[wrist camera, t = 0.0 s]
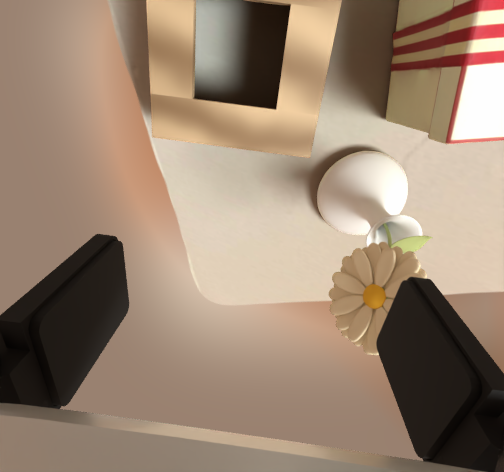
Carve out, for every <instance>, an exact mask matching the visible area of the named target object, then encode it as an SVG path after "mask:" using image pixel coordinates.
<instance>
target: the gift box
mask: <svg viewBox="0 0 504 472" xmlns="http://www.w3.org/2000/svg"><path fill="white" fill-rule="evenodd" d="M393 47H394V49H393V58H392V63H391V77H390V86H389V94H388V102H387V111H386V120H387V121H389V122H393V123H396V124H400V125H403V126H406V127H410V128H413V129H417V130H420V131H423V132H427V133H429V135H428V138H429V139H432V140H435V141H437V142H441V143H445V144H456V143H471V142H485V141H499V140H504V0H399V7H398V16H397V23H396V31H395V33H393Z"/></svg>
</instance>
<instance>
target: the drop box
mask: <svg viewBox="0 0 504 472" xmlns="http://www.w3.org/2000/svg"><path fill="white" fill-rule="evenodd" d="M245 1H253V2H261V3H269V4H277V5H285V6H291V7H290V14H289V21H288V28H287V36H286V43H285V50H284V57H283V64H282V71H281V79H280V86H279V93H278V100H277V107H276V109H271V108H264V107H256V106H248V105H240V104H233V103H225V102H217V101H209V100H202V99H194V85H195V31H196V0H146V7H147V29H148V52H149V74H150V97H151V119H152V137H154V138H162V139H169V140H177V141H185V142H192V143H200V144H207V145H215V146H223V147H230V148H238V149H245V150H253V151H261V152H268V153H276V154H284V155H291V156H299V157H306V158H310V155H311V150H312V145H313V140H314V135H315V130H316V125H317V120H318V115H319V110H320V106H321V101H322V96H323V91H324V86H325V81H326V76H327V71H328V66H329V61H330V56H331V52H332V47H333V42H334V37H335V32H336V27H337V22H338V17H339V12H340V7H341V2H342V0H245Z"/></svg>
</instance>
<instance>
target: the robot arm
mask: <svg viewBox="0 0 504 472" xmlns="http://www.w3.org/2000/svg"><path fill="white" fill-rule="evenodd" d="M128 308H129V298H128V289H127V279H126V270H125V262H124V251H123V244H122V242H121V241H118V239H117V237H115V236H109V235H102V234H97V235H95V236H94V237H92V238H91V239H90V240H89V241H88V242H87V243H85V244H84V245H83V246H82V247H81V248H79V249H78V250H77V251H76V252H75V253H74V254H73V255H71V256H70V257H69V258H68V259H66V260H65V261H64V262H63V263H62V264H61V265H59V266H58V267H57V268H56V269H55V270H53V271H52V272H51V273H50V274H49V275H48V276H46V277H45V278H44V279H43V280H42V281H40V282H39V283H38V284H37V285H36V286H35V287H33V288H32V289H31V290H30V291H29V292H28V293H26V294H25V295H24V296H23V297H21V298H20V299H19V300H18V301H17V302H16V303H14V304H13V305H12V306H11V307H10V308H8V309H7V310H6V311H5V312H4V313H3V314H1V315H0V472H504V373H503V372H502V371H501V369H500V368H499V367H498V366H497V364H496V363H495V362H494V360H493V359H492V358H491V357H490V355H489V354H488V353H487V352H486V350H485V349H484V348H483V346H482V345H481V344H480V343H479V341H478V340H477V339H476V337H475V336H474V335H473V333H472V332H471V331H470V330H469V328H468V327H467V326H466V324H465V323H464V322H463V320H462V319H461V318H460V317H459V315H458V314H457V313H456V311H455V310H454V309H453V308H452V306H451V305H450V304H449V302H448V301H447V300H446V299H445V297H444V296H443V295H442V293H441V292H440V291H439V290H438V288H437V287H436V286H435V284H434V283H433V282H432V281H431V280H430V279H425V278H418V277H409V278H408V279H407V280H404V281H402V283H401V284H400V287H399V289H398V291H397V294H396V296H395V298H394V300H393V303H392V305H391V307H390V310H389V312H388V314H387V317H386V319H385V321H384V324H383V326H382V328H381V330H380V333H379V335H378V337H377V342H376V346H377V350H378V353H379V356H380V358H381V361H382V363H383V366H384V369H385V372H386V375H387V377H388V380H389V383H390V385H391V388H392V390H393V393H394V396H395V398H396V401H397V404H398V407H399V409H400V412H401V415H402V417H403V420H404V422H405V425H406V428H407V431H408V433H409V436H410V439H411V441H412V444H413V447H414V449H415V452H416V454H417V455H418V456H419V457H420V458H422V459H423V461H418V460H412V459H405V458H398V457H392V456H385V455H379V454H372V453H365V452H359V451H352V450H345V449H338V448H332V447H325V446H318V445H312V444H305V443H298V442H291V441H285V440H277V439H270V438H264V437H257V436H250V435H243V434H237V433H230V432H223V431H216V430H208V429H202V428H195V427H188V426H181V425H174V424H166V423H159V422H152V421H145V420H138V419H130V418H122V417H116V416H109V415H102V414H94V413H87V412H79V411H71V410H63V409H60V407H61V406H66V405H67V404H68V403H69V402H70V401H71V399H72V397H73V396H74V394H75V393H76V391H77V390H78V388H79V387H80V385H81V383H82V382H83V380H84V379H85V377H86V376H87V374H88V372H89V371H90V370H91V368H92V366H93V365H94V364H95V362H96V360H97V359H98V357H99V356H100V354H101V353H102V351H103V350H104V348H105V347H106V345H107V343H108V342H109V340H110V339H111V337H112V336H113V334H114V333H115V331H116V329H117V328H118V326H119V325H120V323H121V322H122V320H123V319H124V317H125V316H126V314H127V312H128Z"/></svg>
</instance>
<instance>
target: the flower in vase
mask: <svg viewBox="0 0 504 472" xmlns="http://www.w3.org/2000/svg"><path fill="white" fill-rule="evenodd" d="M407 194H408V182H407V177H406V174H405V172H404V170H403V168H402V167H401V165H400V164H399V163H398V162H397V161H396V160H395V159H394V158H392V157H390V156H389V155H386V154H384V153H381V152H377V151H361V152H356V153H353V154H350V155H348V156H345V157H344V158H342V159H340V160H339V161H337V162H336V163H335V164H334V165H332V166H331V167H330V168H329V170H328V171H327V172H326V173H325V175H324V176H323V178H322V180H321V182H320V185H319V188H318V192H317V204H318V209H319V211H320V214H321V216H322V217H323V219H324V220H325V221H326V222H327V223H328V224H329V225H330V226H331V227H333V228H334V229H336V230H338V231H340V232H343V233H346V234H351V235H364V234H368V235H367V238H366V246H367V247H365V248H363V249H362V250H361V249H359V248H357V249H355V250H354V251H353V253H352V255H351V256H350V257H349V256H346V257H344V258H343V260H342V265H343V266H342V267H341V272H336V273H334V274H333V276H332V280H333V282H334V283H335V284H334V288H332V289H331V290H330V291H329V297H330V298H331V299H332V304H331V305H330V312H331V313H332V314H333V315H335V317H336V318H337V321H336V327H337V328H338V329H339V330H341V333H342V335H343V336H344V337H346V338H349V340H350V341H352V342H353V343H354V344H355V345H356V346H361V345H363V349H364V352H365V353H366V354H373V355H379V353H378V350H377V346H376V342H377V337H378V335H379V333H380V330H381V328H382V326H383V324H384V321H385V319H386V317H387V314H388V312H389V310H390V307H391V305H392V303H393V300H394V298H395V296H396V294H397V291H398V289H399V287H400V284H401V283H402V281H404V280H407V279H408V278H409V277H418V278H425V279H426V277H427V275H426V272H425V271H424V270H423V269H420V262H419V261H418V260H417V259H416V255H415V253H413V252H415V251H417V250H419V249H420V248H421V247H422V246H423V245H424V244H425V243H426V242H427V241H428V240H429V239H430V238H432V237H429V236H422V229H421V227H420V225H419V223H418V222H417V221H416V220H415V219H413V218H412V217H409V216H406V215H399V213H400V212H401V210H402V209H403V207H404V205H405V202H406V199H407Z"/></svg>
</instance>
